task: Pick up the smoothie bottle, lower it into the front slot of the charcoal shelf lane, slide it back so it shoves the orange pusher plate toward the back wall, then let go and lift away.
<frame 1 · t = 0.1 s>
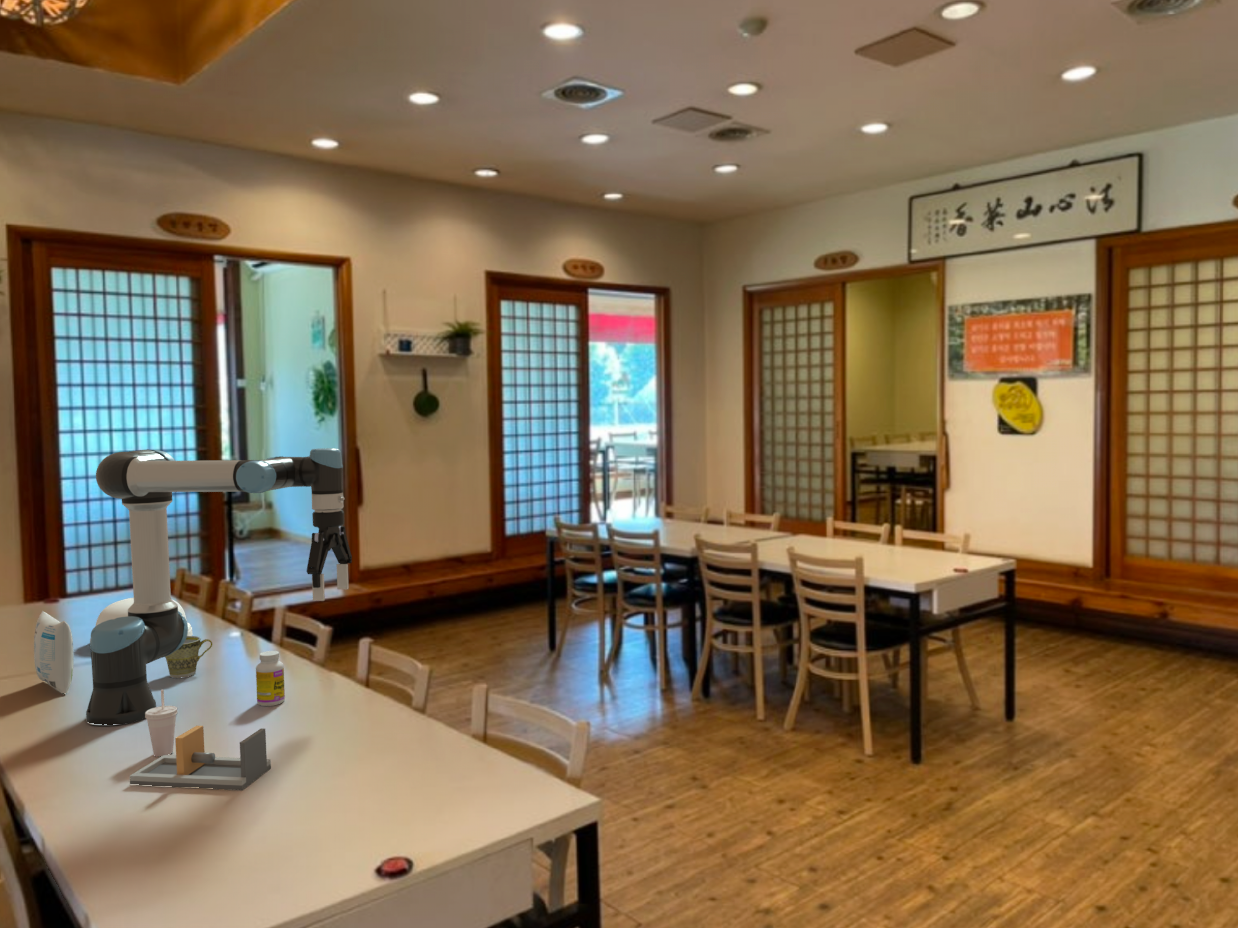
hand: (331, 594, 231), 28 cm above the table, tool pointing down, fingers open, 13 cm apart
lane: (201, 776, 188), on the table
pusher: (199, 751, 187), point 5 cm above the table, slide at 0.0 cm
supplement bottle: (271, 703, 235), on the table
dome cover: (142, 641, 301), on the table
smoothie: (163, 754, 201), on the table
ceramic cup: (188, 675, 261), on the table
pouch: (55, 689, 250), on the table
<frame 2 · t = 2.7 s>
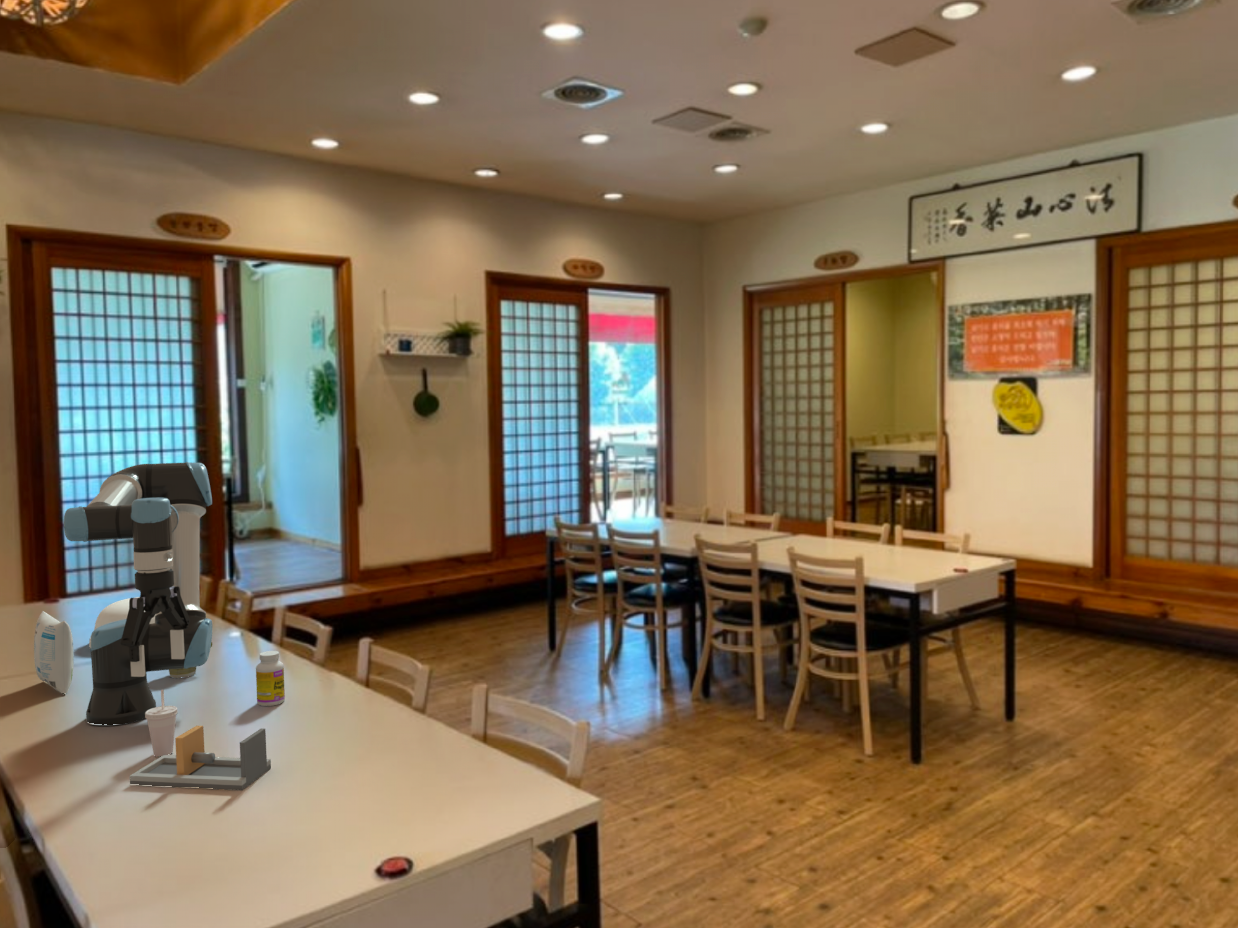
hand: (158, 667, 199), 19 cm above the table, tool pointing down, fingers open, 13 cm apart
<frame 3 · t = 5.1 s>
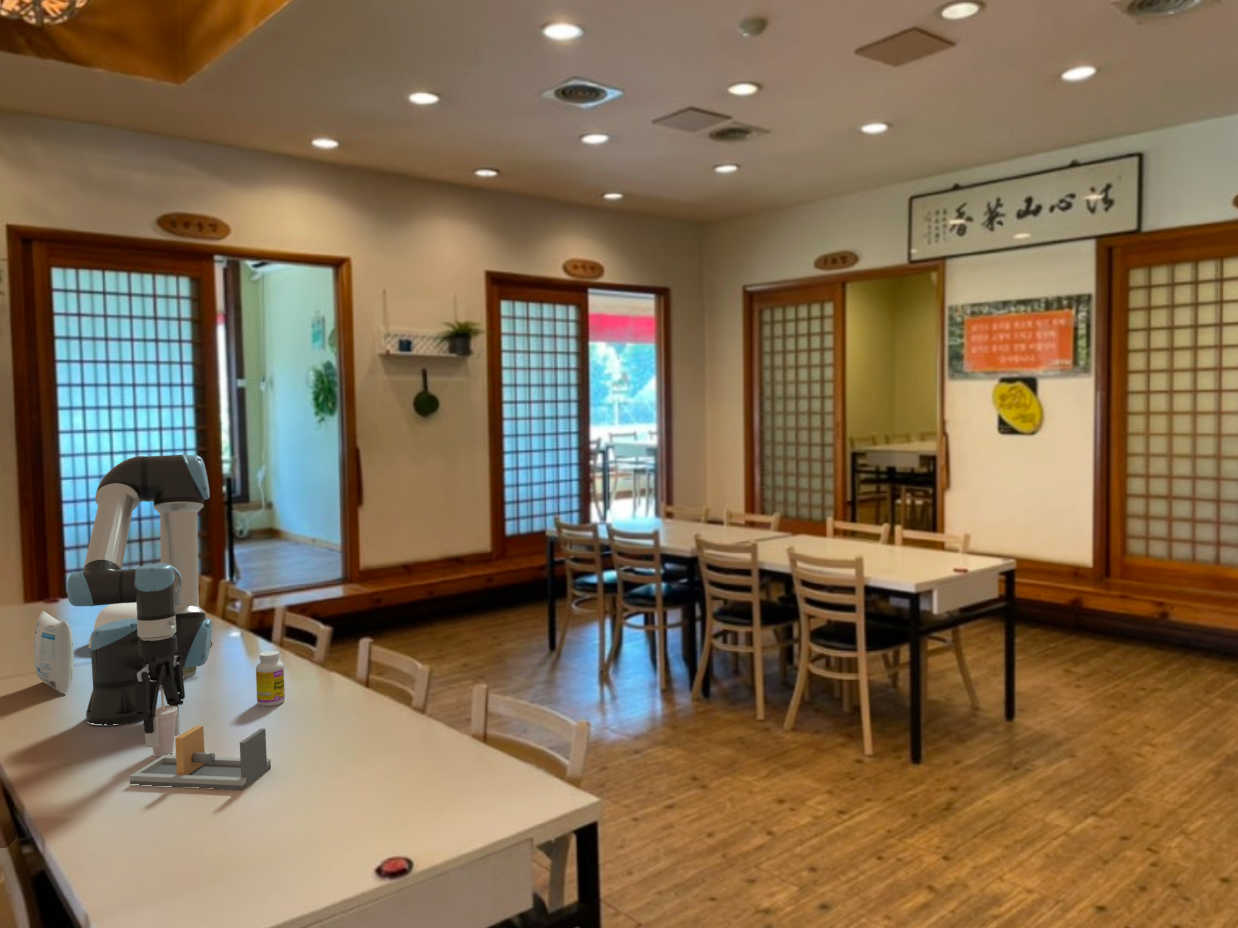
hand: (162, 740, 201), 3 cm above the table, tool pointing down, fingers closed on smoothie, 6 cm apart
smoothie: (163, 754, 201), on the table, touching gripper
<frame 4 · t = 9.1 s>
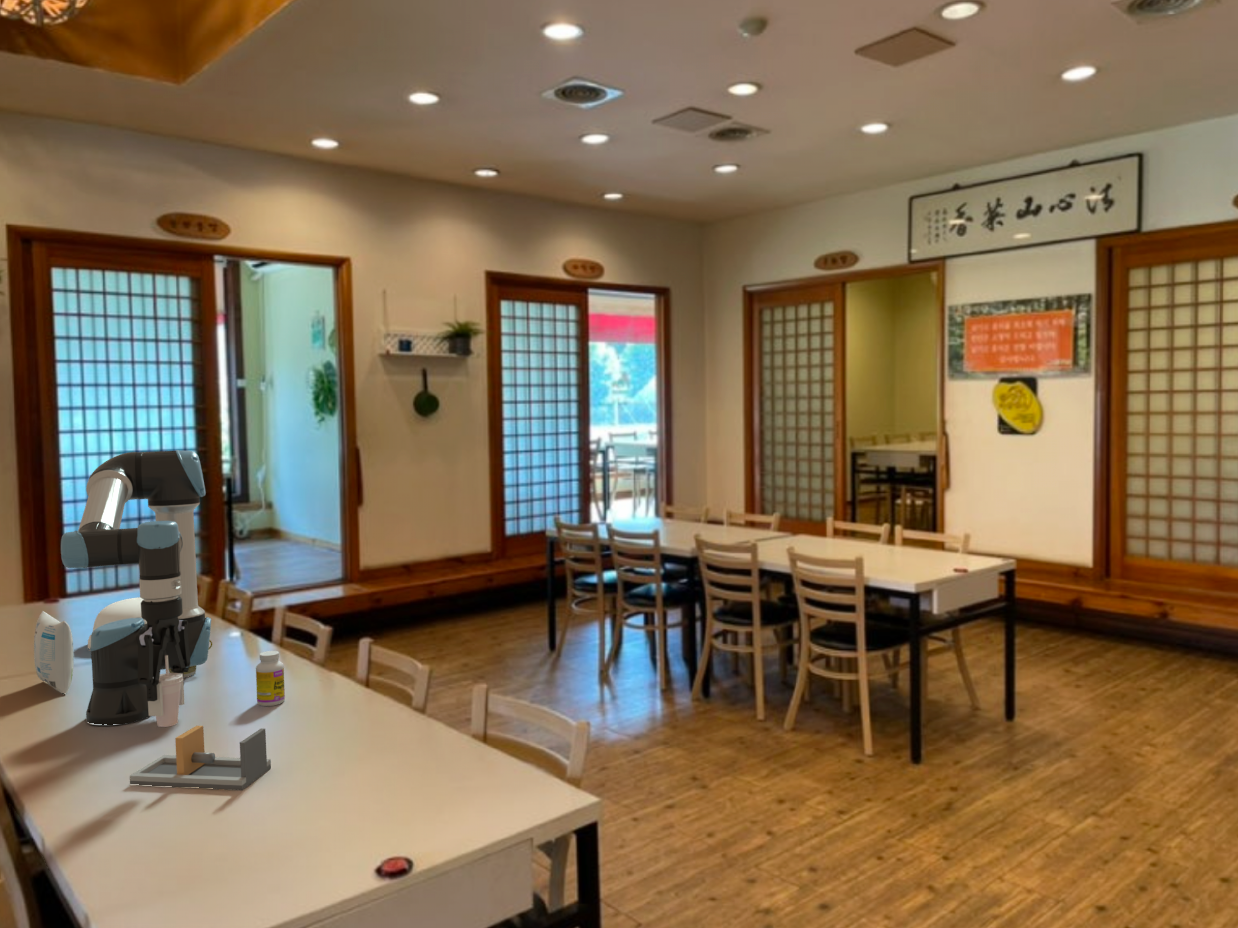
hand: (166, 709, 188), 14 cm above the table, tool pointing down, fingers closed on smoothie, 6 cm apart
smoothie: (167, 724, 188), point 11 cm above the table, touching gripper
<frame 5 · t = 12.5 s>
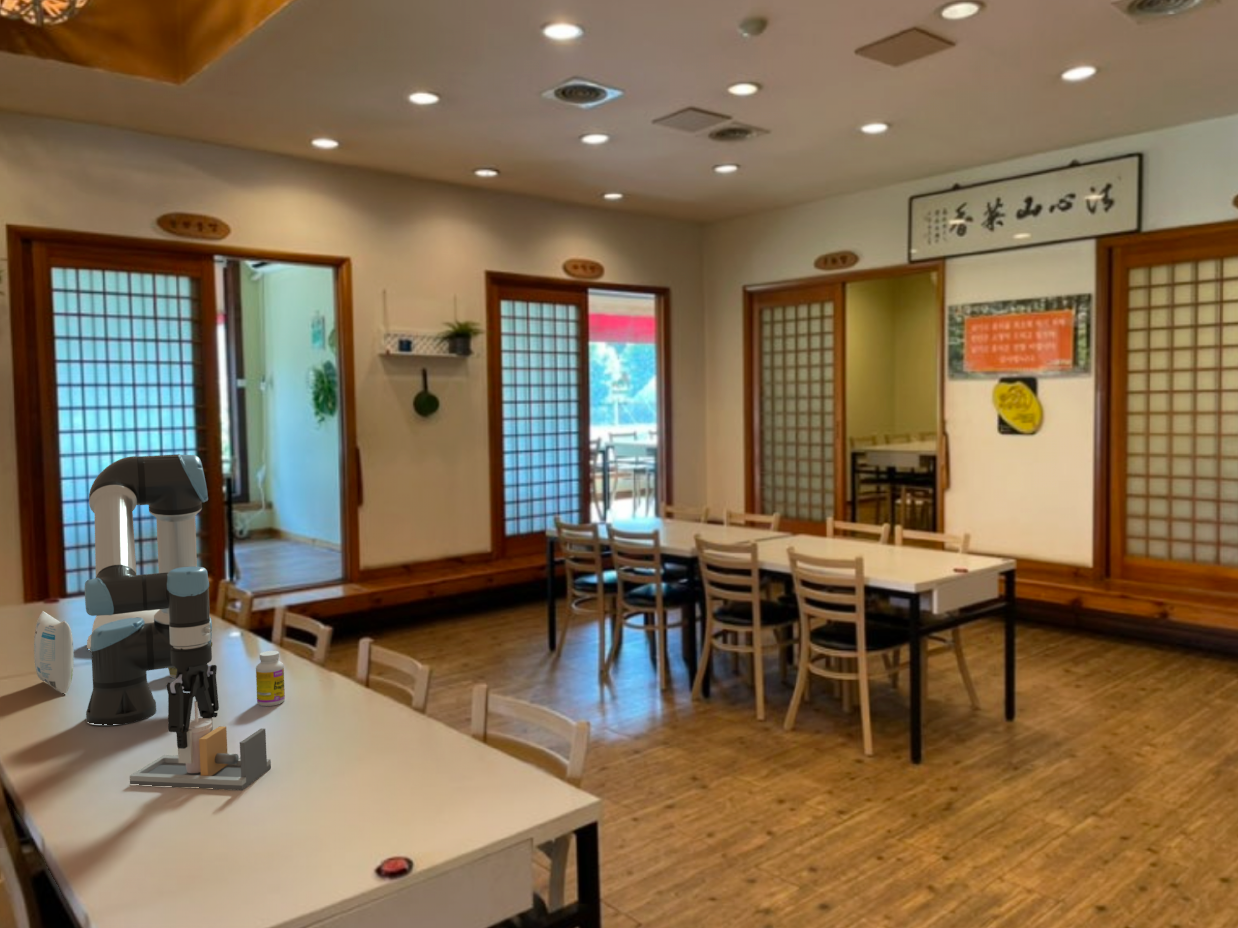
hand: (196, 755, 188), 4 cm above the table, tool pointing down, fingers closed on smoothie, 6 cm apart
pusher: (223, 752, 187), point 5 cm above the table, slide at 5.1 cm, touching smoothie
smoothie: (196, 770, 188), point 1 cm above the table, touching gripper, pusher
when the fingers open (4 cm above the table, at t = 13.2 s): smoothie stays where it is, resting on lane.
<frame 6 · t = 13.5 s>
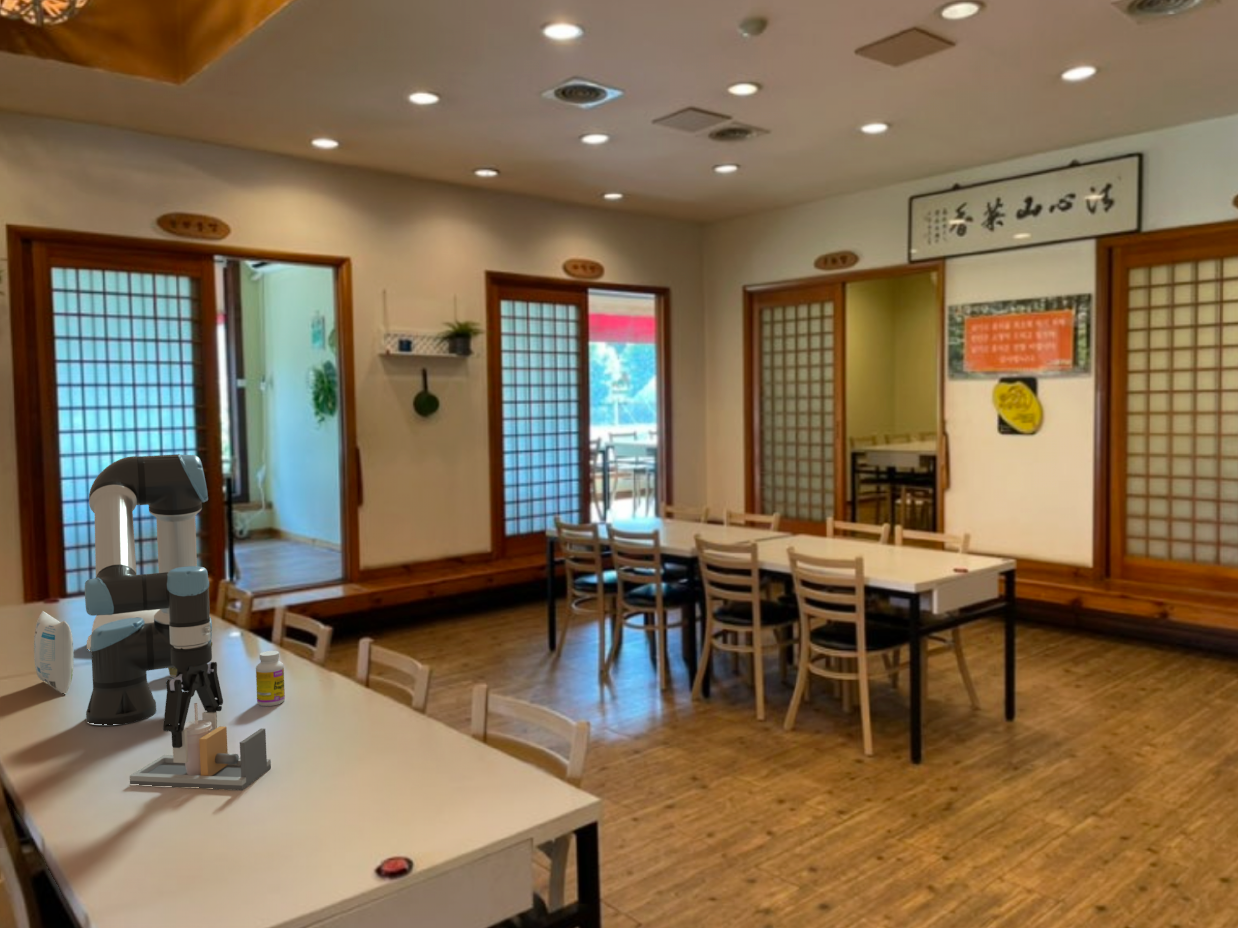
hand: (196, 752, 188), 5 cm above the table, tool pointing down, fingers open, 9 cm apart
pusher: (223, 752, 187), point 5 cm above the table, slide at 5.2 cm
smoothie: (196, 772, 188), point 1 cm above the table, touching lane
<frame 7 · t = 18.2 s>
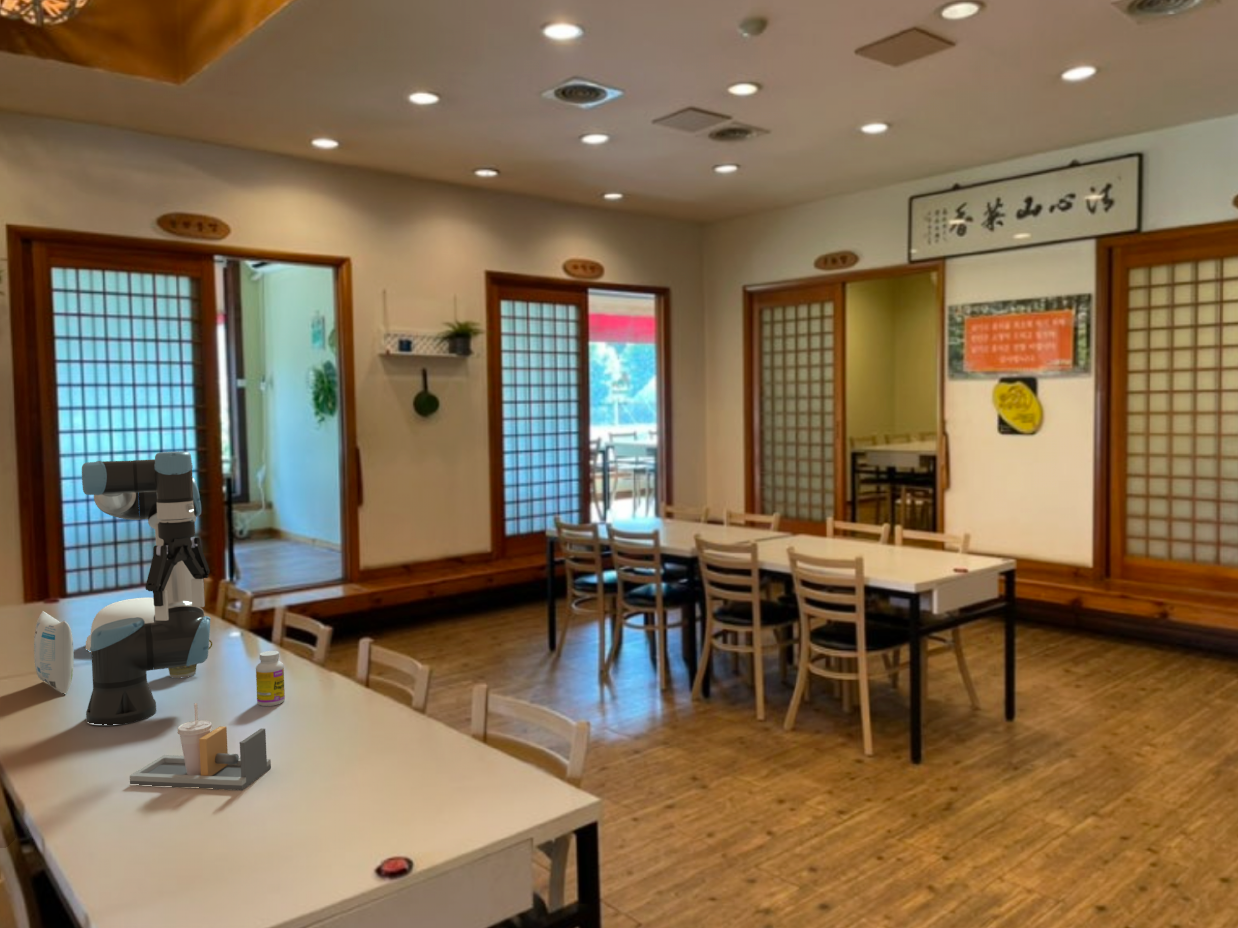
hand: (180, 613, 209), 29 cm above the table, tool pointing down, fingers open, 13 cm apart
at the end: pusher slide at 5.2 cm; smoothie inside the target area on the lane (1.4 cm from its centre), point 0.8 cm above the lane's base; smoothie tilted 0° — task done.
